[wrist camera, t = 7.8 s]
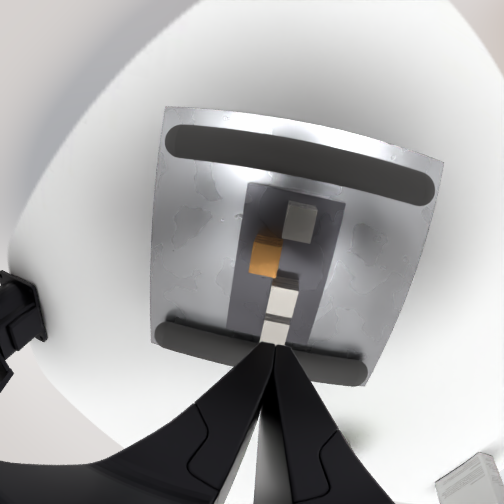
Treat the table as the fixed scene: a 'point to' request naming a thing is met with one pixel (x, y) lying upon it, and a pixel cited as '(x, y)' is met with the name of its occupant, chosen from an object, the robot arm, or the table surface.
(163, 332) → the dark grey rounded rod
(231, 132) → the dark grey rounded bar
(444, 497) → the skincare box
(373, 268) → the breaker panel
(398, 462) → the table surface
